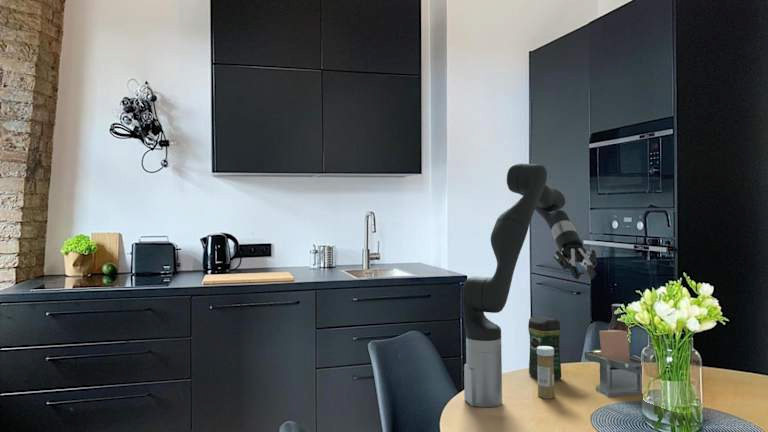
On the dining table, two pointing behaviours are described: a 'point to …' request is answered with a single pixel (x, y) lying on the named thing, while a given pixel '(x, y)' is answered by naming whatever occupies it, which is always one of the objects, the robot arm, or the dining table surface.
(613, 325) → the sauce bottle
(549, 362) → the sprinkles bottle
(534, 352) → the coffee jar
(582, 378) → the dining table surface
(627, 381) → the fulcrum
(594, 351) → the brass weight
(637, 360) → the beam
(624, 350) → the brown rectangular block
